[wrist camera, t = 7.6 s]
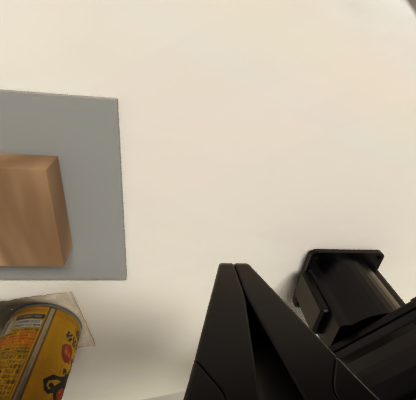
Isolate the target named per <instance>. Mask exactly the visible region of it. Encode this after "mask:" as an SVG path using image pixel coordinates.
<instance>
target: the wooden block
mask: <svg viewBox="0 0 416 400" xmlns="http://www.w3.org/2000/svg"><path fill="white" fill-rule="evenodd" d="M72 247H73V245H72V239H71V233H70V227H69V221H68V215H67V209H66V203H65V197H64V190H63V184H62V178H61V172H60V166H59V160H58V156H45V155H26V154H7V153H0V266H64V265H65V263H66V261H67V259H68V256H69V254H70V252H71V250H72Z"/></svg>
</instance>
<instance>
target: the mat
mask: <svg viewBox="0 0 416 400" xmlns="http://www.w3.org/2000/svg"><path fill="white" fill-rule="evenodd" d="M0 153H7V154H26V155H45V156H58V160H59V166H60V172H61V178H62V184H63V190H64V197H65V203H66V209H67V215H68V221H69V227H70V233H71V239H72V245H73V247H72V250H71V252H70V254H69V256H68V259H67V261H66V263H65V265H64V266H0V280H126V278H127V269H126V250H125V230H124V211H123V191H122V172H121V153H120V133H119V114H118V99H115V98H102V97H89V96H76V95H63V94H51V93H38V92H25V91H12V90H0Z"/></svg>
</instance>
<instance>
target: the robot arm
mask: <svg viewBox="0 0 416 400" xmlns="http://www.w3.org/2000/svg"><path fill="white" fill-rule="evenodd" d="M315 255H316V256H315ZM383 258H384V254H383V253H382V252H381V251H380V250H339V249H314V250H312V251H310V253H309V254H308V257H307V260H306V263H305V266H304V269H303V272H302V273H301V275H300V278H299V281H298V284H297V286H296V289H295V292H294V294H295V295H294V298H293V303H294V305H295V306H296V307H301V310H302V312H303V314H304V317H305V319H306V321H307V323H308V326H309V327H308V326H307V325H306V324H305V323H304V322H303V321H302V320H301V319H300V318H299V317H298V316H297V315H296V314H295V312H294V311H293V310H292V309H291V308H290V307H289V306H288V305H287V304H286V303H285V302H284V301H283V300H282V299H281V298H280V297H279V296H278V295H277V294H276V293H275V291H274V290H273V289H272V288H271V287H270V286H269V285H268V284H267V283H266V282H265V281H264V280H263V279H262V278H261V277H260V276H259V275H258V274H257V273H256V272H255V270H254V269H253V268H252V267H251V266H250V265H249V264H246V263H236V264H234V265H233V264H232V263H221V264H219V267H218V271H217V275H216V279H215V283H214V286H213V290H212V294H211V298H210V302H209V306H208V310H207V314H206V318H205V321H204V325H203V329H202V333H201V337H200V341H199V345H198V349H197V353H196V356H195V360H194V364H193V367H192V371H191V375H190V379H189V382H188V386H187V389H186V393H185V396H184V399H183V400H416V297H414V298H413V299H411V301H410V302H409V303H407V304H405V303H404V302H403V300H402V299H401V298H400V297H399V296H398V294H397V293H396V292H395V291H394V289H393V288H392V287H391V286H390V284H389V283H388V282H387V281H386V280H385V278H384V277H383V276H382V275H381V273H380V272H379V271H378V268H379V266H380V264H381V262H382V260H383ZM315 334H318V336H319V338H320V339H319V338H318V337H317V336H316V335H315Z"/></svg>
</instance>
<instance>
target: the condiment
mask: <svg viewBox="0 0 416 400" xmlns="http://www.w3.org/2000/svg"><path fill="white" fill-rule="evenodd" d="M11 309H13V310H11ZM90 345H92V346H95V344H94V341H93V339H92V336H91V335H90V332H89V329H88V327H87V325H86V322H85V320H84V318H83V316H82V314H81V312H80V310H79V308H78V306H77V305H76V302H75V300H74V298H73V296H72V293H71V292H70V293H61V294H50V295H45V296H33V297H29V298H28V297H26V298H21V299H15V300H11V301H1V302H0V400H61V399H62V396H63V392H64V389H65V386H66V383H67V379H68V376H69V373H70V371H71V367H72V363H73V361H74V357H75V352H76V350H77V347H82V346H90Z"/></svg>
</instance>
